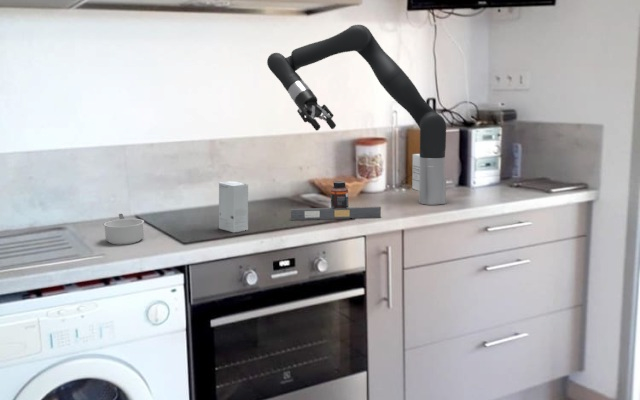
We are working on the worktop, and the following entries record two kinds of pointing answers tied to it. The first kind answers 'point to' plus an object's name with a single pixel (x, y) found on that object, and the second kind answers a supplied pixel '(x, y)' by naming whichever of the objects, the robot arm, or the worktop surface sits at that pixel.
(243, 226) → the skincare box
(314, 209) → the price rail
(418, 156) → the supplement box
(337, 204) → the supplement bottle
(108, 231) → the saucepan
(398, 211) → the worktop surface
